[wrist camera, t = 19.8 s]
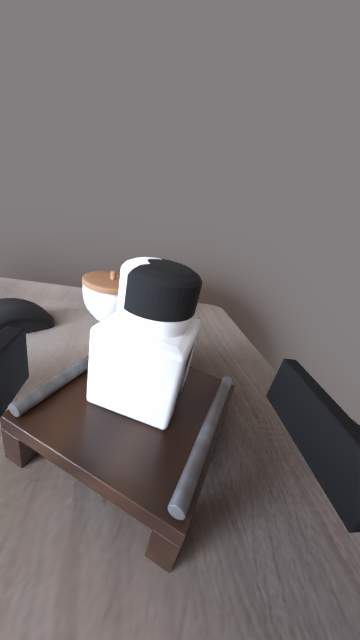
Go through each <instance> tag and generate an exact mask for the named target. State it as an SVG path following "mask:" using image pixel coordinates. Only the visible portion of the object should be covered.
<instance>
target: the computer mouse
mask: <svg viewBox="0 0 360 640" xmlns="http://www.w3.org/2000/svg"><path fill="white" fill-rule="evenodd" d="M54 325H55V322H54V319H53V317H52V316H51V315H50V314H49V313H47V312H46V311H45V310H44V309H43V308H42V307H40V306H39V305H37V304H35V303H33V302H30V301H27V300H23V299H17V298H3V299H0V331H1V330H2V329H3V328H4V327H6V326H10V327H18V328H25V333H30V332H34V331H39V330H44V329H48V328H52V327H53V326H54Z"/></svg>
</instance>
